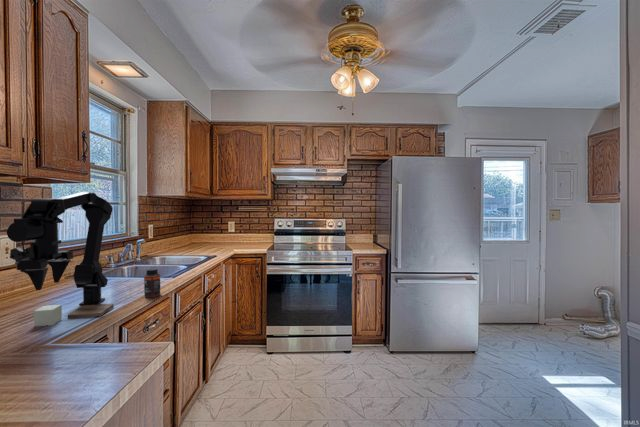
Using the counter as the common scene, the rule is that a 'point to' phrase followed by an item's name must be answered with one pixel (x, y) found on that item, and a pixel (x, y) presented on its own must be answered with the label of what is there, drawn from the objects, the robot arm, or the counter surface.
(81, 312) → the brown square tile
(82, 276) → the robot arm
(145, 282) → the supplement bottle
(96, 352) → the counter surface
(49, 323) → the cube
